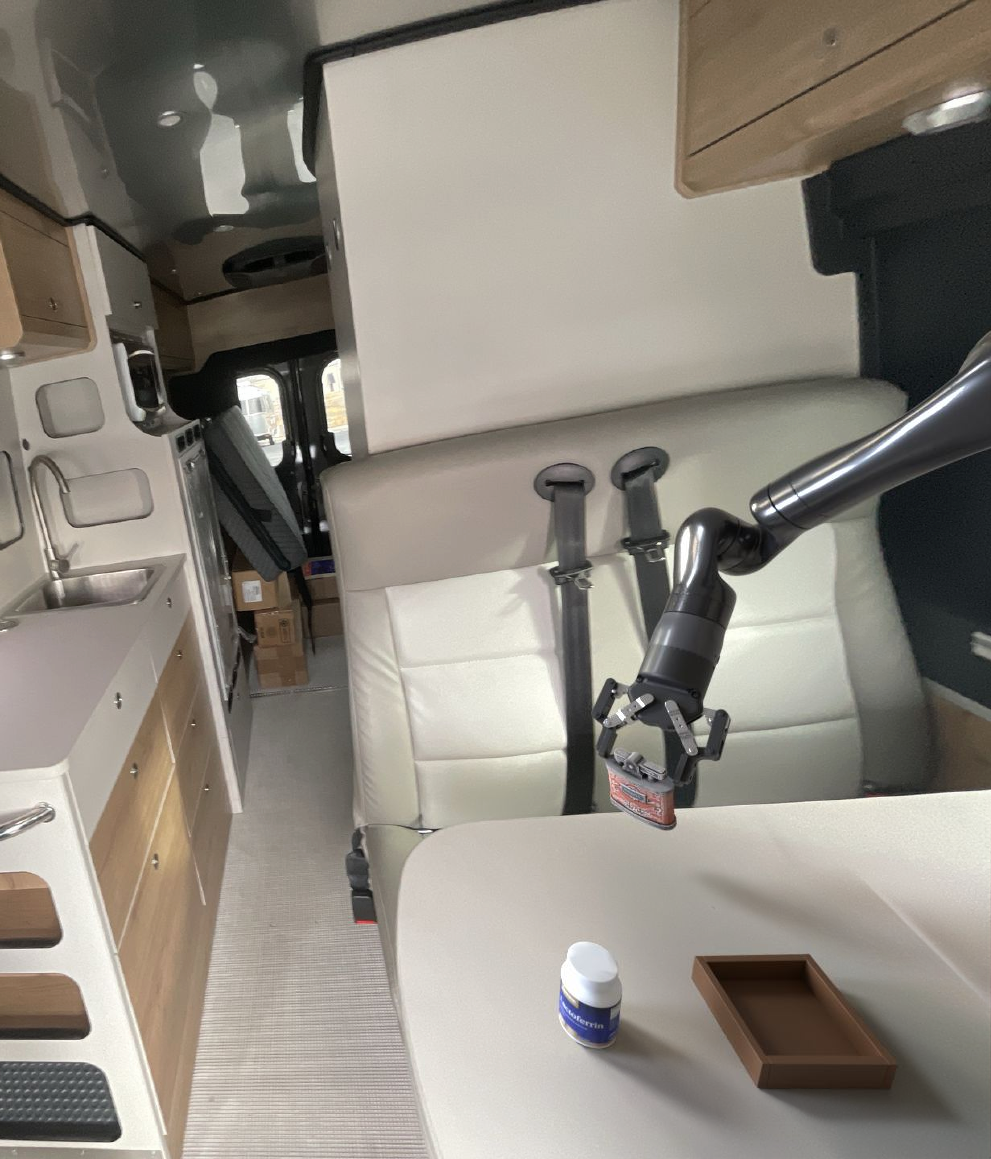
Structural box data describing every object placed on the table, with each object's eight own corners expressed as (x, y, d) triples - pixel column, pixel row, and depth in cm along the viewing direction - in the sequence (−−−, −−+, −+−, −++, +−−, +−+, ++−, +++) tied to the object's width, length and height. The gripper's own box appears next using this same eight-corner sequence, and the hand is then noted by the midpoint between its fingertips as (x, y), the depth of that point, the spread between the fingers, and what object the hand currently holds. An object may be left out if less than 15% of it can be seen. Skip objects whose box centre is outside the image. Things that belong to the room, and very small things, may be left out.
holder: (803, 976, 74) (809, 953, 73) (890, 1089, 63) (898, 1064, 62) (691, 978, 76) (694, 955, 74) (756, 1088, 65) (762, 1064, 64)
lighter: (604, 802, 90) (597, 751, 86) (619, 786, 91) (613, 735, 87) (667, 836, 83) (663, 782, 79) (682, 819, 84) (679, 765, 80)
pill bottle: (549, 1028, 73) (552, 964, 69) (569, 989, 77) (573, 927, 73) (607, 1063, 69) (613, 997, 65) (625, 1021, 73) (632, 956, 69)
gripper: (614, 630, 89) (571, 742, 87) (744, 660, 78) (698, 789, 76) (629, 649, 94) (588, 756, 92) (753, 680, 83) (710, 801, 81)
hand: (638, 770), depth 84 cm, fingers closed on lighter, 8 cm apart
